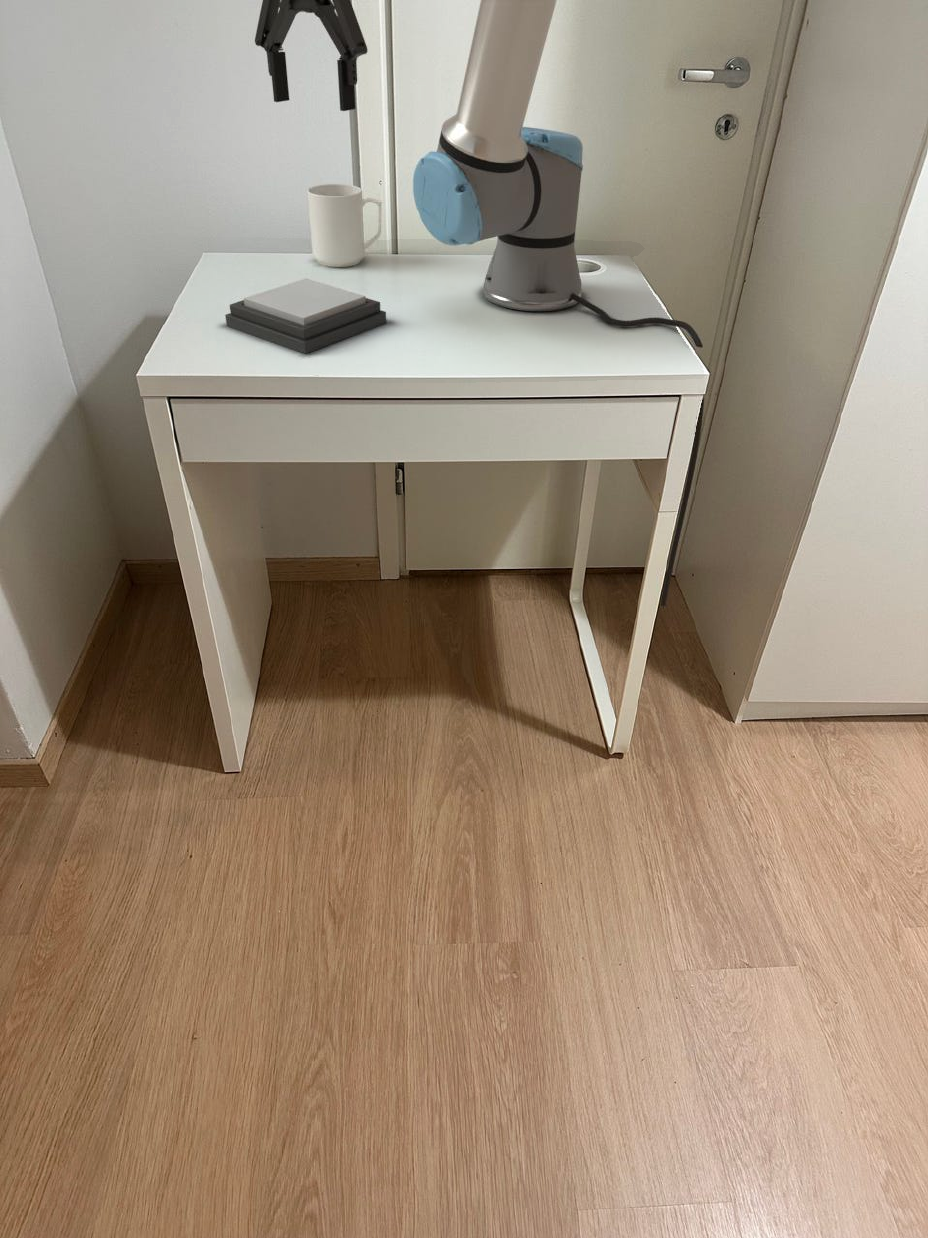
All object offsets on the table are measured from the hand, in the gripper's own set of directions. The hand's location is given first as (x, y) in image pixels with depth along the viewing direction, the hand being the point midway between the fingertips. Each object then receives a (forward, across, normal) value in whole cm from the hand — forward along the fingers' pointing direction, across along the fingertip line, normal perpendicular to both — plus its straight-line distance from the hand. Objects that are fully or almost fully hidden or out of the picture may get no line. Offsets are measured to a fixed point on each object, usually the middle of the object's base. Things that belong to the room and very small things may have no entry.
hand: (314, 105), depth 137 cm
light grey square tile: (+21, -19, +26) cm, 38 cm away
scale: (+23, -19, +26) cm, 39 cm away
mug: (+23, -4, -2) cm, 23 cm away
